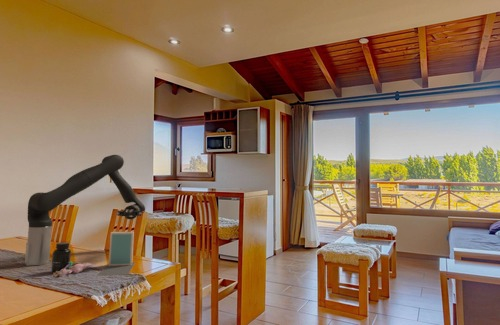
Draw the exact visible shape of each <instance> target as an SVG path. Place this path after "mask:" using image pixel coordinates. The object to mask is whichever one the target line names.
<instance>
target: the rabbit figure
mask: <svg viewBox="0 0 500 325" xmlns="http://www.w3.org/2000/svg"><path fill="white" fill-rule="evenodd" d="M68 263H70V264H68V265H67V266H66V267H65V268H64V269H61V270H60V271H59V272H57V271H56V272H55V273H54V272H53V273H52V274H53V277H54V278H57V276H58V277H62V276H66V275H71V274H72V273H73V274H78V273H81V272H83V270H84V269H86V268H88V267H90V266H94V264H93V263H90V262H85V263H77V264H75V265H73V261H71V260H70V262H68ZM67 267H70V268H71V267H72V268H71V269H69V270H67V269H66V268H67Z"/></svg>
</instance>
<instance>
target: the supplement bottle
mask: <svg viewBox="0 0 500 325" xmlns="http://www.w3.org/2000/svg"><path fill="white" fill-rule="evenodd" d="M71 256H72V250H71V249H70V242H64V241H63V242H57V243H56V244H55V250H53V252H52V258H51V267H50V268H51V269H50V271H51V273H52V274H53V272H54V273H55V272H56V271H57V272H59V271H60V270H61V269H64V268H65V267H66V266H67V265H68V264H70V263H68V262H70V261H71V260H72V259H71ZM70 268H71V267H67V268H66V269H67V270H71V269H70ZM55 274H56V273H55Z"/></svg>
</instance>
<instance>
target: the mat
mask: <svg viewBox="0 0 500 325" xmlns="http://www.w3.org/2000/svg"><path fill="white" fill-rule="evenodd" d="M135 264H136V262H135V261H134V262H133V261H132V265H118V266H109V262H108V263H107V264H106V265H105V266H104V267H103V268H102V270H101V271H100V272H99V273H98V274H97V275H96V276H99V277H100V276H103V277H104V276H124V275H125V276H127V275H128V276H129V274H130V272H131V270H132V269H133V267H134V265H135Z"/></svg>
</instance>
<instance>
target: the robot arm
mask: <svg viewBox="0 0 500 325" xmlns="http://www.w3.org/2000/svg"><path fill="white" fill-rule="evenodd" d="M124 163H125V161H124V158H123V157H122V156H121V155H119V154H110V155H108V156H105V157H103V159H102V160H101V163H98V164H96V165H94V166H91V167H88V168H85V169H82V170H81V171H79V172H77V173H75V174H72V176H70V177H69V178H68V179H66V181H65V182H63V184H61V185H60V186H58V187H56V188H54V189H52V190H50V191H47V192H35V193H33V194H32V195H30V197H29V200H28V202H27V203H28V204H27V221H28V228H27V229H28V231H27V242H26V244H25V254H24V255H25V258H24V264H25V265H26V266H27V267H28V266H42V265H47V264H49V263H50V257H51V256H50V255H51V254H50V253H51V242H52V241H51V240H52V228H53V220H52V219H51V217H50V212H51V211H53V210H55V209H56V208H58V206H60V205H61V204H63V203H64V202H65V201H67V200H68V199H70V198H72V197H74V196H75V195H77V194H79V193H81V192H82V191H85V190H86V189H88V188H89V187H91V186H92V185H94V184H96V183H97V182H98V181H100V180H102V179H103V178H105V177H107V175H108V177H109V178H110V179H111V181H112V182H113V184H114V185H115V186H116V188H117V189H118V192H119V194H120V195H121V198H122V199H123V202H124V203H126V204H130V203H134V204H130V205H128V206H126V207H125V208H124V210H116V216H117V217H124V218H126V219H127V220H134V219H136V218H137V217H139V216H142V214H143V213H142V211H144V212H145V211H146V207H145V205H144V204H143V203H142V202H141V201H140V199H139V198H138V197H137V196H136V194H135V191H134V190H133V188H132V186H131V184H129V183H128V182H127V181H126V179H124V177H122V175H121V173H120V171H119V170H120V169H122V168H123V166H124V165H125V164H124Z"/></svg>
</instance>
